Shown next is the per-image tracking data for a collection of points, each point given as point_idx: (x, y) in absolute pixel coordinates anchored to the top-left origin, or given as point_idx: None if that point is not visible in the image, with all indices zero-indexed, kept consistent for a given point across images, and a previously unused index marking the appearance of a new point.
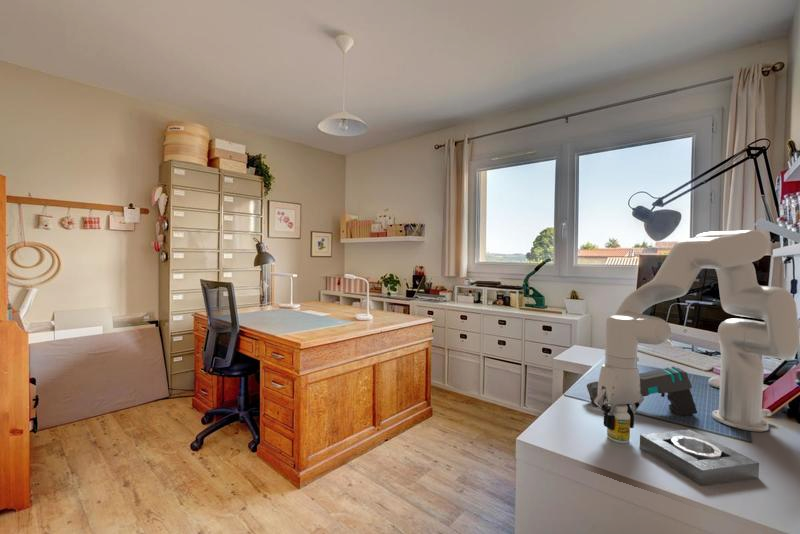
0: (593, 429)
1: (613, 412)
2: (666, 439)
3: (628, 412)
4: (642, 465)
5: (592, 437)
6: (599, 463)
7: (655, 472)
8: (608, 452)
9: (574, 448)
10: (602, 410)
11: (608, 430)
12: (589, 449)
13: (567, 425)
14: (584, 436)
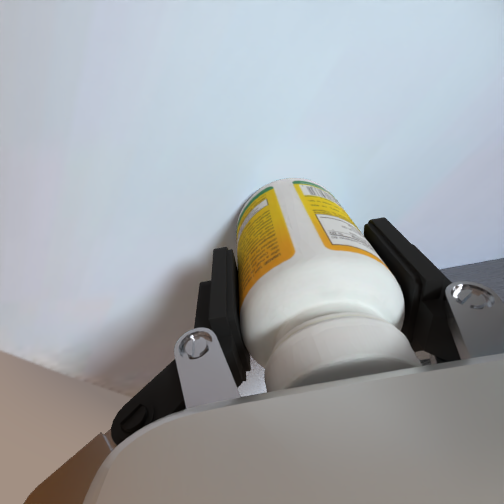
0: (204, 111)
1: (268, 357)
2: (426, 358)
3: (415, 324)
4: (248, 372)
5: (153, 214)
6: (109, 373)
7: (262, 392)
8: (173, 322)
9: (32, 306)
10: (171, 365)
11: (237, 246)
12: (99, 309)
13: (15, 36)
14: (110, 205)
